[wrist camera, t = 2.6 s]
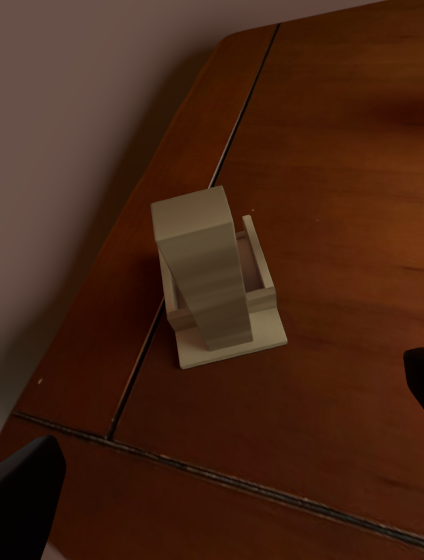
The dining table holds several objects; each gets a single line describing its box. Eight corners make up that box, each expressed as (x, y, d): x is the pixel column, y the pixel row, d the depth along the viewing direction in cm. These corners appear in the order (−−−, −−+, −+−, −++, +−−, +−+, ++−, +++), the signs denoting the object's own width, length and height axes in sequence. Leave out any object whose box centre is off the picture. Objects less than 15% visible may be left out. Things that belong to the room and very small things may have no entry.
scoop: (287, 344, 23) (293, 216, 12) (182, 369, 23) (100, 265, 13) (252, 235, 28) (235, 80, 18) (166, 257, 28) (98, 117, 18)
